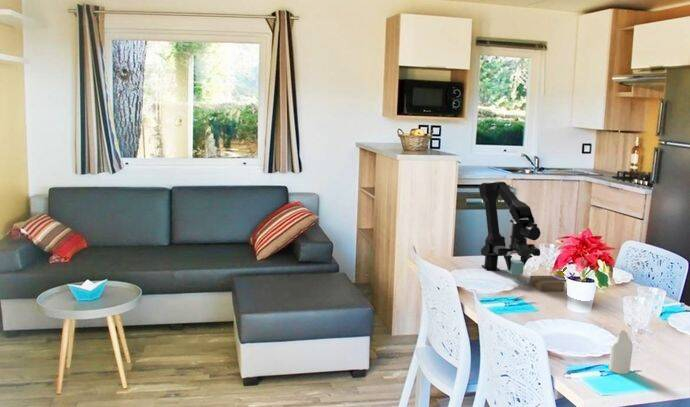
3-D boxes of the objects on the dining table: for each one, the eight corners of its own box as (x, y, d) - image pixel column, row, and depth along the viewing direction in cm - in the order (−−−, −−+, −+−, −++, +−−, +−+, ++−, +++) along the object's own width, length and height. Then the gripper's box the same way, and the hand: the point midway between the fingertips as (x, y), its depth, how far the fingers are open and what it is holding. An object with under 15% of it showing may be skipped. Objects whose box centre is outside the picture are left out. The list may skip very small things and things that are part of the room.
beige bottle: (625, 335, 174) (608, 328, 179) (620, 375, 177) (603, 367, 181) (639, 332, 177) (622, 326, 182) (633, 372, 179) (617, 364, 184)
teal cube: (506, 271, 266) (508, 259, 265) (517, 271, 267) (519, 259, 266) (511, 274, 261) (512, 263, 260) (522, 274, 262) (523, 263, 261)
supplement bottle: (553, 279, 269) (556, 250, 266) (552, 275, 275) (556, 247, 273) (569, 281, 267) (573, 252, 264) (568, 277, 273) (572, 249, 271)
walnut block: (529, 284, 260) (530, 275, 260) (551, 284, 262) (552, 275, 262) (541, 292, 251) (542, 283, 250) (563, 292, 253) (564, 282, 252)
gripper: (505, 238, 252) (501, 275, 255) (548, 239, 254) (544, 276, 257) (494, 232, 263) (491, 268, 265) (536, 233, 265) (532, 268, 268)
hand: (514, 270), depth 264 cm, fingers closed on teal cube, 5 cm apart
